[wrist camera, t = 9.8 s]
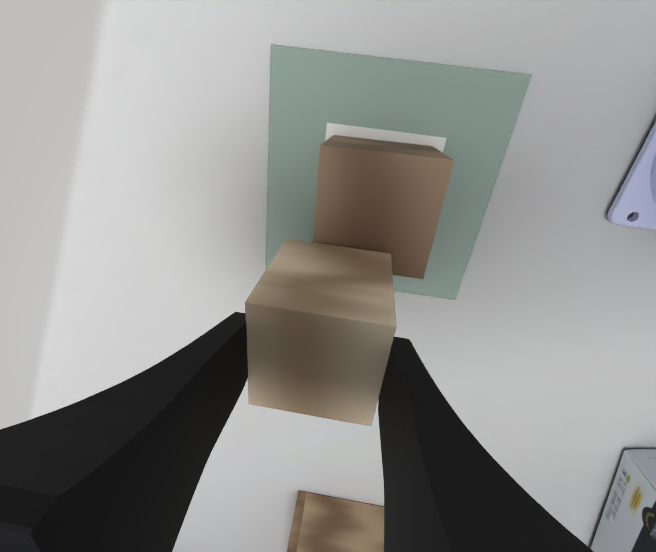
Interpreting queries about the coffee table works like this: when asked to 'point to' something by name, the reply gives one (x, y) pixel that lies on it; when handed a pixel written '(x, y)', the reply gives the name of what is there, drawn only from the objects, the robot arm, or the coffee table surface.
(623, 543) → the tea box
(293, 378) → the maple block
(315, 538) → the box
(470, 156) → the build mat
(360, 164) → the walnut block
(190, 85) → the coffee table surface
